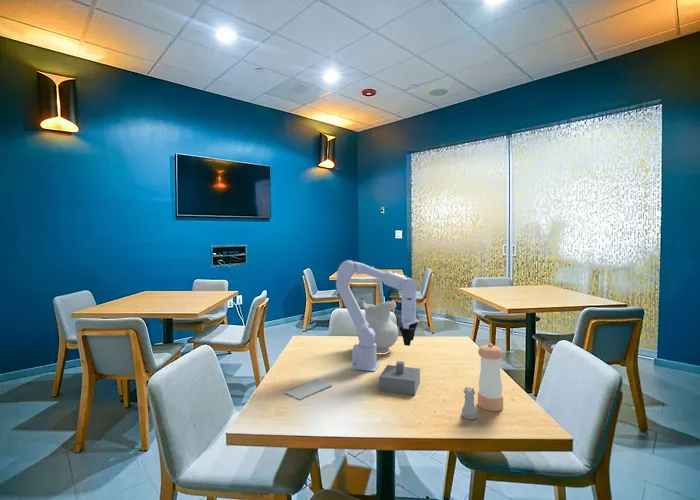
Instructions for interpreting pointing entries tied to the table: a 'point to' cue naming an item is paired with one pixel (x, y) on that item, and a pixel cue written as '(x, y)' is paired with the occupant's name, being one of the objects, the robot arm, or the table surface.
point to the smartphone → (308, 389)
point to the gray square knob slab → (399, 379)
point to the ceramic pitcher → (381, 323)
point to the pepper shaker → (490, 378)
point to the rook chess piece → (469, 404)
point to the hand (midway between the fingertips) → (408, 342)
